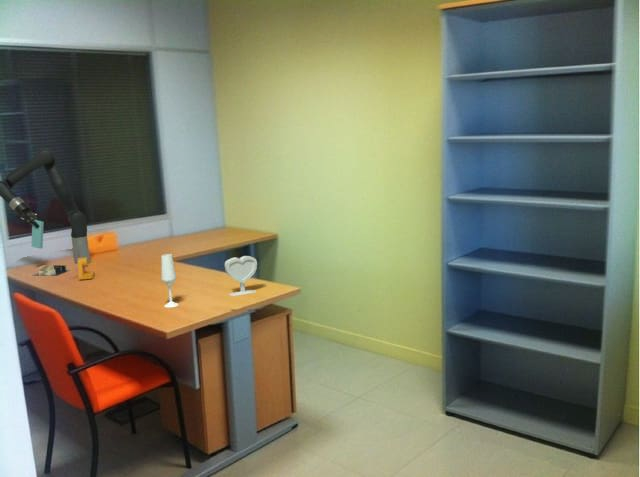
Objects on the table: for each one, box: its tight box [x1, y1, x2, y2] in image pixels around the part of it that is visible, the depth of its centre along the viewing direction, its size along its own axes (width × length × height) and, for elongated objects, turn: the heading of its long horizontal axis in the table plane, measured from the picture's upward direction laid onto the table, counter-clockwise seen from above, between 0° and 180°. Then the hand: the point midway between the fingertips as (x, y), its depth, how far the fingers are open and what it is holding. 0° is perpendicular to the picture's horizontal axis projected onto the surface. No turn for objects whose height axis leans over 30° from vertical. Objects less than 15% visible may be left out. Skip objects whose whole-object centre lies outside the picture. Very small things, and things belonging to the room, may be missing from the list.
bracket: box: [77, 257, 96, 281], centre depth 348 cm, size 11×7×12 cm, turn 13°
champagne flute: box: [160, 253, 180, 308], centre depth 285 cm, size 7×7×24 cm
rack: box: [31, 264, 71, 277], centre depth 360 cm, size 16×14×4 cm
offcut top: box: [38, 264, 55, 271], centre depth 356 cm, size 7×4×2 cm, turn 80°
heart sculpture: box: [224, 255, 258, 297], centre depth 302 cm, size 16×5×18 cm, turn 117°
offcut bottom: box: [38, 270, 56, 275], centre depth 357 cm, size 8×4×2 cm, turn 76°
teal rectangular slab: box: [31, 220, 45, 250], centre depth 363 cm, size 6×2×16 cm, turn 76°
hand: (39, 226), depth 361 cm, fingers closed on teal rectangular slab, 1 cm apart
